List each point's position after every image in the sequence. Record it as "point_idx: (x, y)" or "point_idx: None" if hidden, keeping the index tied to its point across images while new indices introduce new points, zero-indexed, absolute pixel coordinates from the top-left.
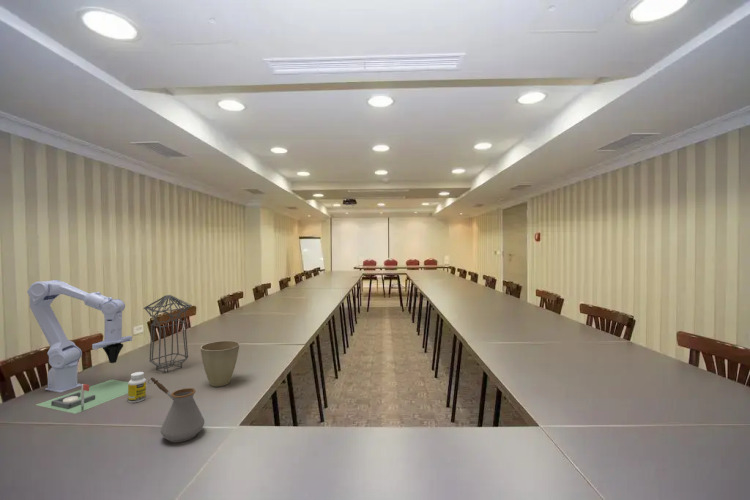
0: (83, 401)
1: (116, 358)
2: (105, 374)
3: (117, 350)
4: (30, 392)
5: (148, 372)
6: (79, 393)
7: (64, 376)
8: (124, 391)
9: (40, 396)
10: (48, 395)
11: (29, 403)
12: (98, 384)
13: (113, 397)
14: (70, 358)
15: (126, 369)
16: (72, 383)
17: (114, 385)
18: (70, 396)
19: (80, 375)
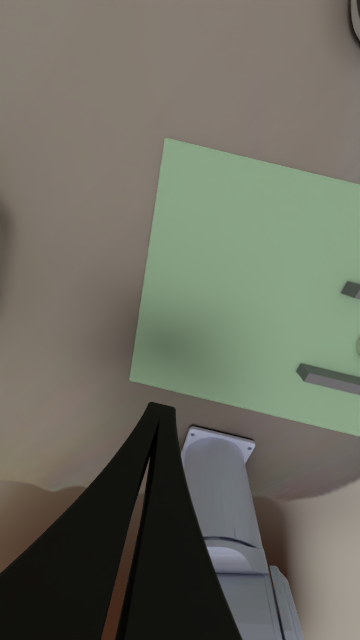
0: None
1: (146, 425)
2: (91, 429)
3: (117, 534)
4: None
5: (17, 303)
6: (311, 371)
7: (247, 499)
8: (255, 213)
9: (277, 465)
10: (271, 454)
11: (332, 456)
12: (181, 387)
13: (338, 203)
14: (253, 624)
15: (31, 403)
16: (221, 451)
17: (184, 324)
18: (342, 379)
19: None
